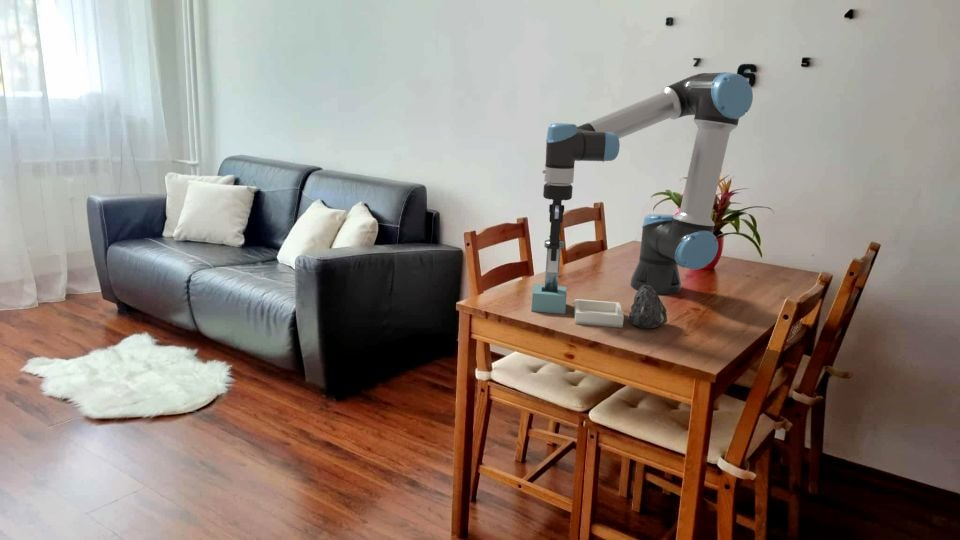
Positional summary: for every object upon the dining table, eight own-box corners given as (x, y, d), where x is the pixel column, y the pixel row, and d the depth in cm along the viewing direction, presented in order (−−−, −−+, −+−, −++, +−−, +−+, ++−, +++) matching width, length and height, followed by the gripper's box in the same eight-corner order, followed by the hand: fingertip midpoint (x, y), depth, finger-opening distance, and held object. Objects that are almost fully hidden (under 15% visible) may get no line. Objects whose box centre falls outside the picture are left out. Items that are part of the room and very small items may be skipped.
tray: (618, 313, 184) (619, 302, 183) (622, 327, 172) (623, 316, 171) (573, 309, 185) (574, 298, 184) (575, 323, 173) (576, 312, 172)
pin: (560, 287, 186) (564, 240, 183) (560, 293, 181) (564, 244, 178) (541, 286, 187) (544, 239, 183) (541, 291, 182) (544, 243, 178)
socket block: (564, 303, 189) (566, 286, 188) (565, 313, 180) (566, 295, 179) (532, 301, 190) (533, 284, 189) (531, 311, 181) (532, 293, 180)
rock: (622, 305, 181) (639, 277, 176) (654, 316, 183) (672, 288, 177) (628, 335, 171) (647, 307, 166) (662, 346, 173) (681, 318, 167)
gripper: (544, 178, 186) (539, 260, 192) (543, 187, 168) (537, 277, 174) (571, 179, 185) (565, 262, 191) (573, 189, 167) (566, 279, 173)
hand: (552, 269), depth 182 cm, fingers closed on pin, 5 cm apart
